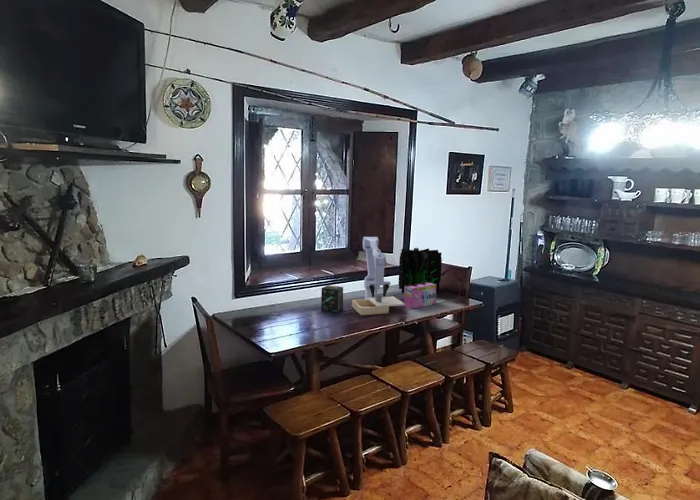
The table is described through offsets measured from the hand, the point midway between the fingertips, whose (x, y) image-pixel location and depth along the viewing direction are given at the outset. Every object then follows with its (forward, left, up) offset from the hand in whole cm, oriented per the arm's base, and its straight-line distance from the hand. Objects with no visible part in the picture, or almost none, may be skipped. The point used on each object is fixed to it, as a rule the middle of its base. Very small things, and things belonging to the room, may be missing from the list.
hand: (378, 296), depth 293 cm
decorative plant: (-39, +47, -9) cm, 62 cm away
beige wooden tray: (0, -6, -9) cm, 10 cm away
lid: (0, +5, -4) cm, 6 cm away
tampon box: (-6, -29, -9) cm, 30 cm away
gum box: (-4, +31, -9) cm, 33 cm away
